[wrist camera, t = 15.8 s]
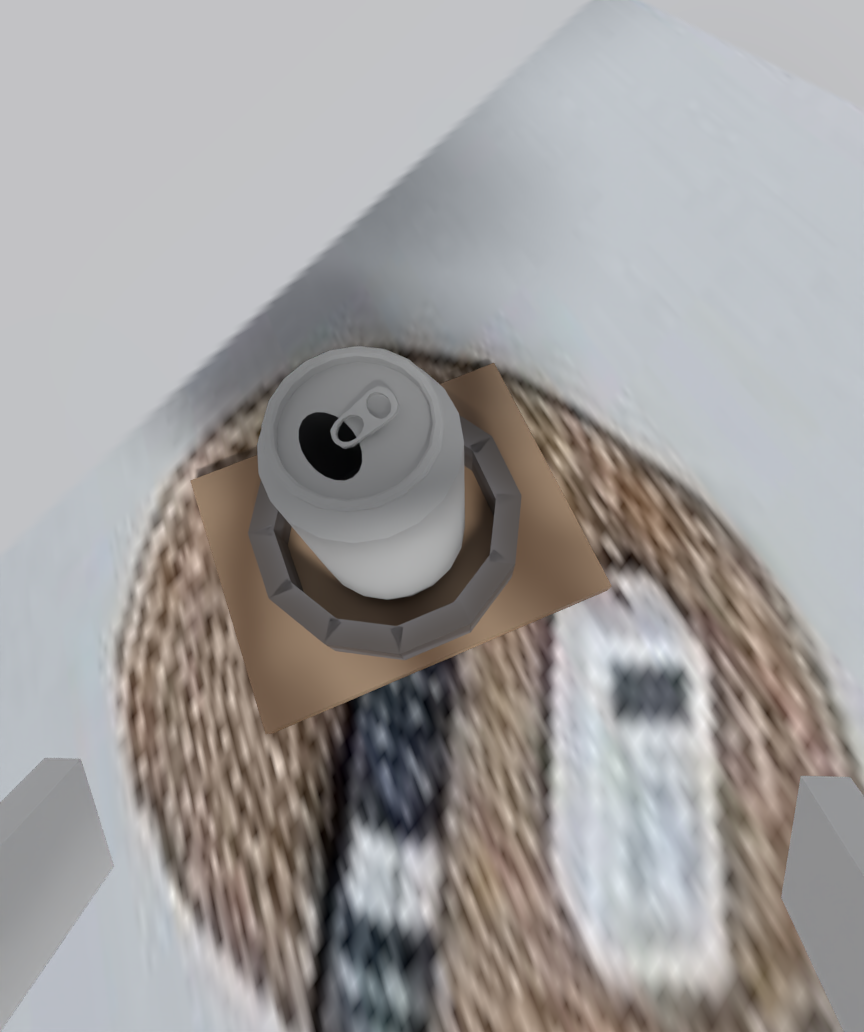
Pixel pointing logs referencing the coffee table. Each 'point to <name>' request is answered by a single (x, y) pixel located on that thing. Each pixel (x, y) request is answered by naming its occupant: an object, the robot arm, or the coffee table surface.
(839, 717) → the coffee table surface
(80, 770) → the robot arm
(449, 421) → the can
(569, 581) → the can holder
